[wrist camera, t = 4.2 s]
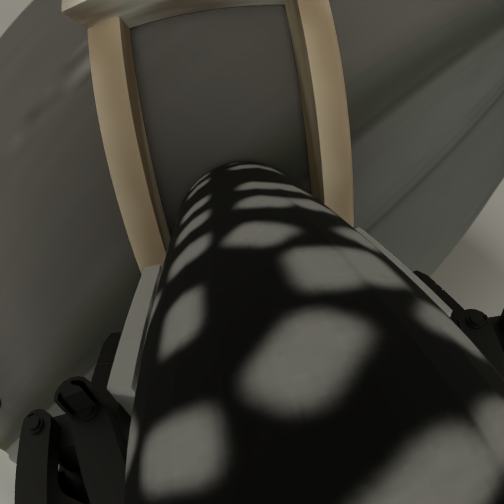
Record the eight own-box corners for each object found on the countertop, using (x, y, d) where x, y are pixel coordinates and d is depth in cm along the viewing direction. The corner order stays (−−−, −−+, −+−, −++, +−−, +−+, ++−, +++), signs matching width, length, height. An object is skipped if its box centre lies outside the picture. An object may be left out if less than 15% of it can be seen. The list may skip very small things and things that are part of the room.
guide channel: (164, 301, 21) (154, 357, 16) (100, 15, 11) (62, -16, 6) (338, 266, 22) (373, 311, 17) (307, -17, 12) (342, -54, 7)
